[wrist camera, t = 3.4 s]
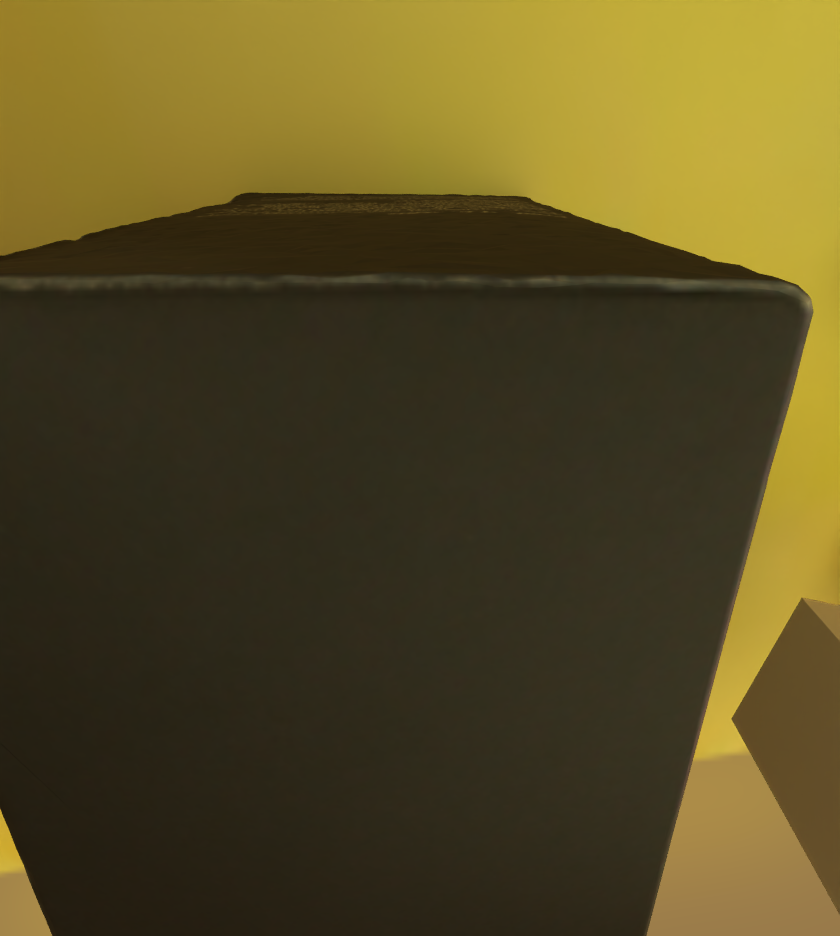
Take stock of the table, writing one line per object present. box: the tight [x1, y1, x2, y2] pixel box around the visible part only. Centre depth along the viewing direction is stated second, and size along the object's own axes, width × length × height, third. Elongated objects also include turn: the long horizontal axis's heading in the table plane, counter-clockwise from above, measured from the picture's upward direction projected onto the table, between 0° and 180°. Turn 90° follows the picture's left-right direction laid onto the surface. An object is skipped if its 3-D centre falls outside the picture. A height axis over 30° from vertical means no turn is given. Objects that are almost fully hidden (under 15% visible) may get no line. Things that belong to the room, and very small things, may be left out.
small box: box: [0, 193, 813, 936], centre depth 10 cm, size 11×6×10 cm, turn 0°
